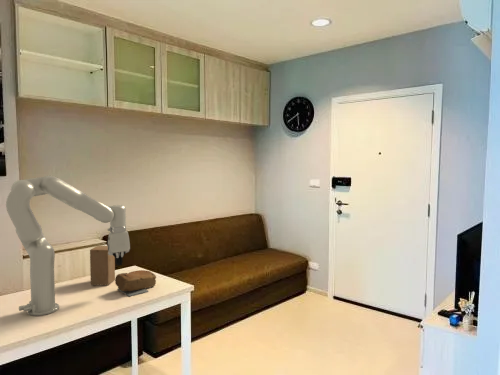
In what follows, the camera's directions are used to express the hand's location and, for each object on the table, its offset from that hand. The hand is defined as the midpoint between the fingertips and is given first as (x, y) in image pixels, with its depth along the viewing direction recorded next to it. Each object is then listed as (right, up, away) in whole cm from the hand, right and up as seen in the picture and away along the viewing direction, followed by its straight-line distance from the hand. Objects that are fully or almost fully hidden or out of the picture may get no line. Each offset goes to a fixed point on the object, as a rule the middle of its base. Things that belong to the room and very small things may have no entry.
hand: (119, 264), depth 187 cm
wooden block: (-16, -14, +18) cm, 28 cm away
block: (0, -9, 0) cm, 9 cm away
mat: (+5, -15, +6) cm, 17 cm away
